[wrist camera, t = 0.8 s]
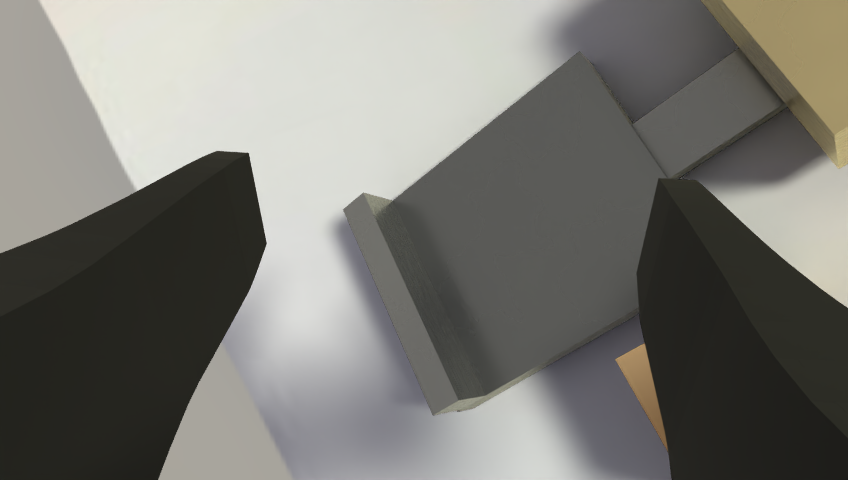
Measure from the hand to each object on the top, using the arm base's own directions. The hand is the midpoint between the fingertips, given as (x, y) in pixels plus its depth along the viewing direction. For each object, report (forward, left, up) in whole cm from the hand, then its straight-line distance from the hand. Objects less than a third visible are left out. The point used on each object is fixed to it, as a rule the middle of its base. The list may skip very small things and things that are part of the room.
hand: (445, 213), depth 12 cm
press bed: (+3, -2, -13) cm, 14 cm away
